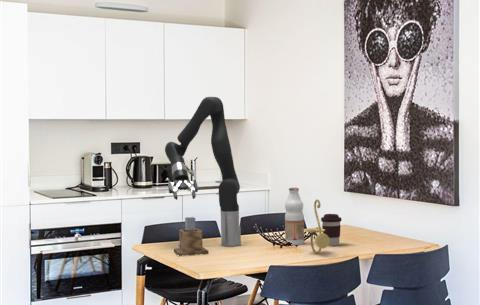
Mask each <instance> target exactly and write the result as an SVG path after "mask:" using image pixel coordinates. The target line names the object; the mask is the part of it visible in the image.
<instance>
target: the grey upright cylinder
mask: <svg viewBox="0 0 480 305" xmlns="http://www.w3.org/2000/svg"><path fill="white" fill-rule="evenodd" d="M184 222H185V223H184V224H185V228H184V230H185V232H192V231H196V229H197V228H196V217H194V216H191V217H190V216H188V217H186V216H185V217H184Z"/></svg>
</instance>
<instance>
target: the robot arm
mask: <svg viewBox="0 0 480 305" xmlns="http://www.w3.org/2000/svg"><path fill="white" fill-rule="evenodd" d="M209 117H210V120H211V124H212V125H211V126H212V129H211V135H210V136H211V137H210V144H211V149H212V154H213V156H214V159H215V162H216V163H217V165H218V168H219V170H220V173H221V174H220V175H221V180H222V181H221V182H220V183H219V185H218V203H219V207H220V242H221V243H220V244H221V246H223V247H237V246H242V245H241V244H242V235H241V234H242V232H241V231H242V230H241V225H240V205H239V203H238V194H239V193H240V190H241V186H240V181H239V179H238V175H237V173H236V169H235V166H234V165H235V164H234V157H233V154H232V153H233V152H232V148H231V143H230V138H229V133H228V130H227V125H226V117H225V109H224V103H223V101H222V100H221V98H219V97H217V96H206V97H204V98H203V99H202V100H201V102H200V104H198V107H197V109H196V110H195V112H194V114H193V115H192V117H191V119H190V120H189V122H188V123H187V124H186V125H185V127H184V128H183V129H182V130H181V131H180V132H179V134H178V136H177V141H178V143H176V142H174V141H169V142H167V143H166V144H165V147H164V153H165V155H166V158H167V159H168V161H169V162H170V166H171V174H172V178H173V182H172V181H170V180H168V183H167V186H168V188H167V189H168V193H169V194H172V195H173V198H174V200H177V201H178V198H179V197H178V193H177V192H178V191H188V192H190V193H191V196H192V199H195V198H196V197H197V196H196V194H197V193H198V190H199V186H198V183H197V180H196V179H194V180H193V181H190V177H189V173H188V169H187V166H186V163H185V158H184V156H185V154H186V152H187V149H188V147H189V145H190V143H191V142H192V141H193V140H194V138H196V136H197V135H198V134H199V130H200V128H201V126H202V124H203V122H205V120H207V119H208V118H209ZM179 143H180V144H179ZM173 186H174V188H173Z"/></svg>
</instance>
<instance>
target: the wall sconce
mask: <svg viewBox="0 0 480 305" xmlns="http://www.w3.org/2000/svg"><path fill="white" fill-rule="evenodd" d="M320 208H321V201H320V200H319V199H318V198H317V199H315V200H314V203H313V210H314V216H315V218H316V222H317V227H318V228H316V227H315V228H314V227H313V228H304V232H308V233H311V234H310V246H311V250H312V251H313V253H314V254H317V255H318V254H320V253H321V250H322V249H325V248H327V247H329V246H328V245H329V237H328V236H327V235H326V234H324V233H323V231H325V229H322V228H321V227H322V226H321V224H320V222H321V221H320V219H319V214H318V211H317V209H320ZM313 240H314V241H313ZM314 243H315V245H316V247H318V251H316V249H315V247H314Z"/></svg>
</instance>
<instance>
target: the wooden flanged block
mask: <svg viewBox="0 0 480 305" xmlns="http://www.w3.org/2000/svg"><path fill="white" fill-rule="evenodd" d="M178 231H179V232H178V233H179V234H178V235H179V239H178V241H179V242H178V243H179V247H178V248H173V253H174V254H176V255H177V256H178V255H179V256H178V257H183V256H182V255H189V256H196V255H195V254H202V255H209V253H210V252H209V250H208V249H207V248H205V247H204V246H203V231H202V230H201V229H199V228H196V231H192V232H185V229H179V230H178Z"/></svg>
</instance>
